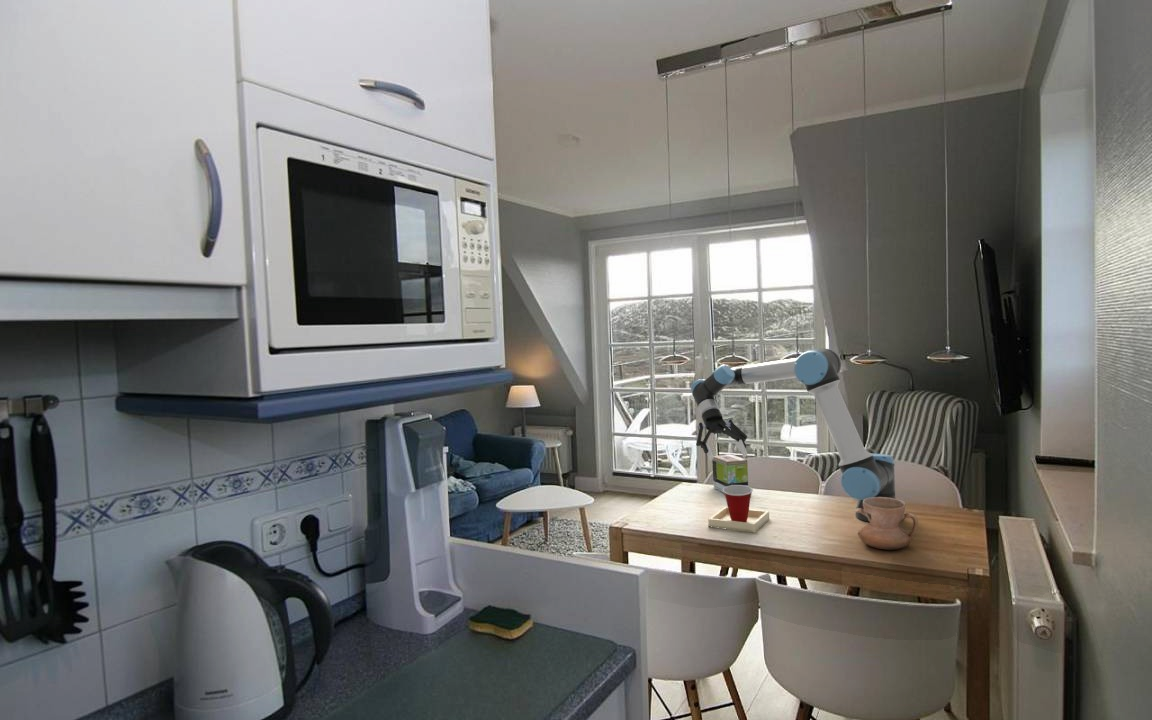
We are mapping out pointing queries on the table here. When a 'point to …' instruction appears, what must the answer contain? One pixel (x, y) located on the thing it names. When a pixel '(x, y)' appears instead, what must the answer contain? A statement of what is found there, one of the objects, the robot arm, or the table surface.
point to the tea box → (729, 471)
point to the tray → (752, 525)
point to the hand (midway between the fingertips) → (728, 457)
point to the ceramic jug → (885, 523)
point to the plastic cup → (738, 501)
